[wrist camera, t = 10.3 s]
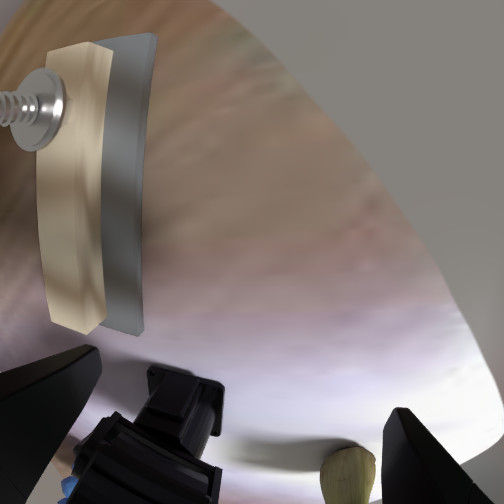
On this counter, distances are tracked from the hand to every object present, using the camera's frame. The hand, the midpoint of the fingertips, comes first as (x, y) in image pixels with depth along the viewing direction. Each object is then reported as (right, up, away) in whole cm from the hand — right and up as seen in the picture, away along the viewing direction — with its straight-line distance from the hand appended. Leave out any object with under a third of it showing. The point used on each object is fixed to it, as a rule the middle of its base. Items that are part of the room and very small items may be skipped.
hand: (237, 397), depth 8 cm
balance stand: (-11, +9, +12) cm, 19 cm away
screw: (-11, +13, +7) cm, 18 cm away
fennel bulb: (+9, -15, +16) cm, 24 cm away
